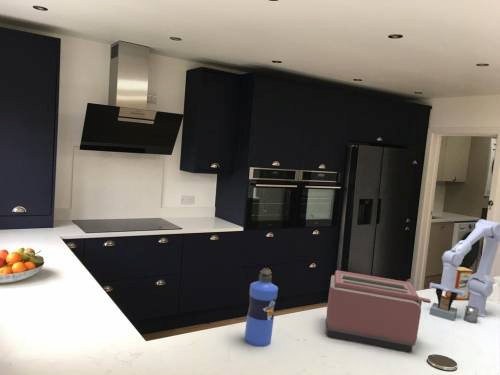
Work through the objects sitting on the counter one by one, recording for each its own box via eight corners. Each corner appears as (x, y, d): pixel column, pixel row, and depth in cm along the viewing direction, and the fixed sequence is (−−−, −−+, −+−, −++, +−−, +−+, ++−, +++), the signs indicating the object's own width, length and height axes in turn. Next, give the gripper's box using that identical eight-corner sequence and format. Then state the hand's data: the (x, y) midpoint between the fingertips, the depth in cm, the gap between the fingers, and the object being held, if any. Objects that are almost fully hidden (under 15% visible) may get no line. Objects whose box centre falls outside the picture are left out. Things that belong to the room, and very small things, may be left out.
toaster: (428, 357, 149) (437, 300, 147) (323, 337, 156) (331, 282, 154) (418, 335, 168) (426, 284, 166) (325, 318, 175) (332, 268, 173)
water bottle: (276, 340, 148) (285, 270, 146) (261, 349, 140) (270, 275, 138) (253, 331, 153) (262, 263, 151) (238, 339, 145) (247, 267, 143)
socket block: (433, 308, 202) (433, 302, 202) (456, 315, 197) (457, 308, 197) (429, 314, 194) (430, 307, 193) (453, 321, 188) (454, 314, 188)
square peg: (440, 308, 198) (442, 295, 197) (448, 310, 196) (450, 297, 195) (438, 310, 195) (440, 297, 194) (447, 312, 193) (449, 299, 192)
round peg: (464, 317, 195) (466, 304, 194) (477, 321, 192) (479, 308, 192) (463, 320, 190) (465, 307, 190) (476, 324, 188) (478, 311, 187)
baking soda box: (459, 295, 229) (464, 266, 227) (469, 300, 222) (474, 270, 221) (445, 295, 226) (449, 266, 224) (454, 300, 219) (459, 269, 218)
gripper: (430, 275, 194) (425, 304, 195) (465, 283, 187) (460, 314, 188) (432, 272, 200) (428, 300, 201) (467, 280, 193) (462, 309, 194)
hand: (444, 307), depth 195 cm, fingers closed on square peg, 3 cm apart
